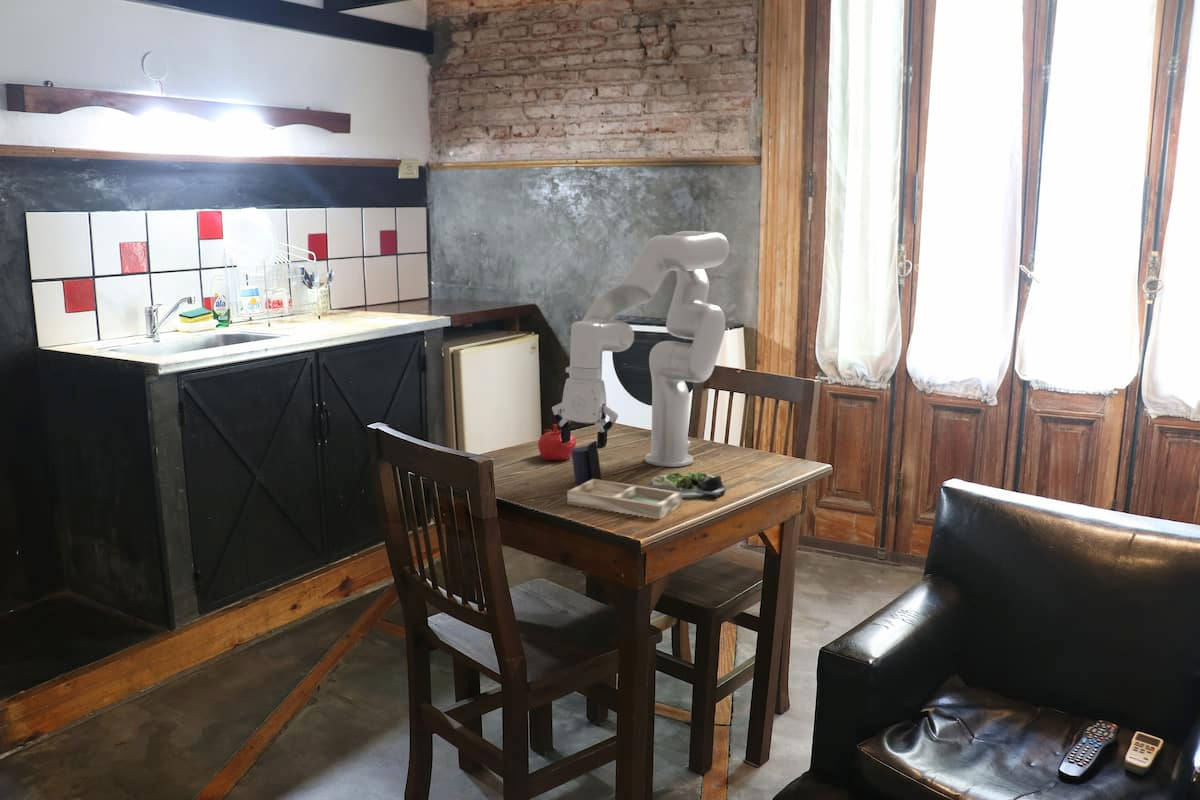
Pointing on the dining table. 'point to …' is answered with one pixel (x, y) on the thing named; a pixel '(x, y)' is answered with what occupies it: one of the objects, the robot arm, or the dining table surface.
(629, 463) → the dining table surface
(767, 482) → the dining table surface
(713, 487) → the avocado toast plate
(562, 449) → the pomegranate
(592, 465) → the speaker
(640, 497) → the sorting tray
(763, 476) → the dining table surface
